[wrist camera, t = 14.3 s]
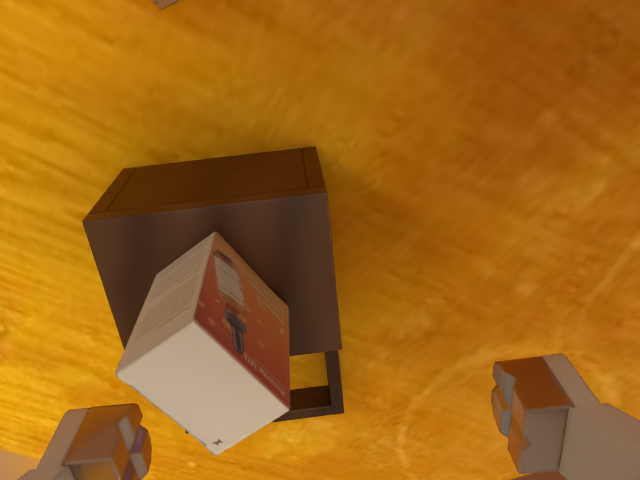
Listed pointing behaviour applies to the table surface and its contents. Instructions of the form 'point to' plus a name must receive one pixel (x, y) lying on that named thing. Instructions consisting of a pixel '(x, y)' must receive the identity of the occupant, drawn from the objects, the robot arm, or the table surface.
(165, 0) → the sandwich container
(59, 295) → the table surface
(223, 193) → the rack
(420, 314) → the table surface
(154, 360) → the small box
